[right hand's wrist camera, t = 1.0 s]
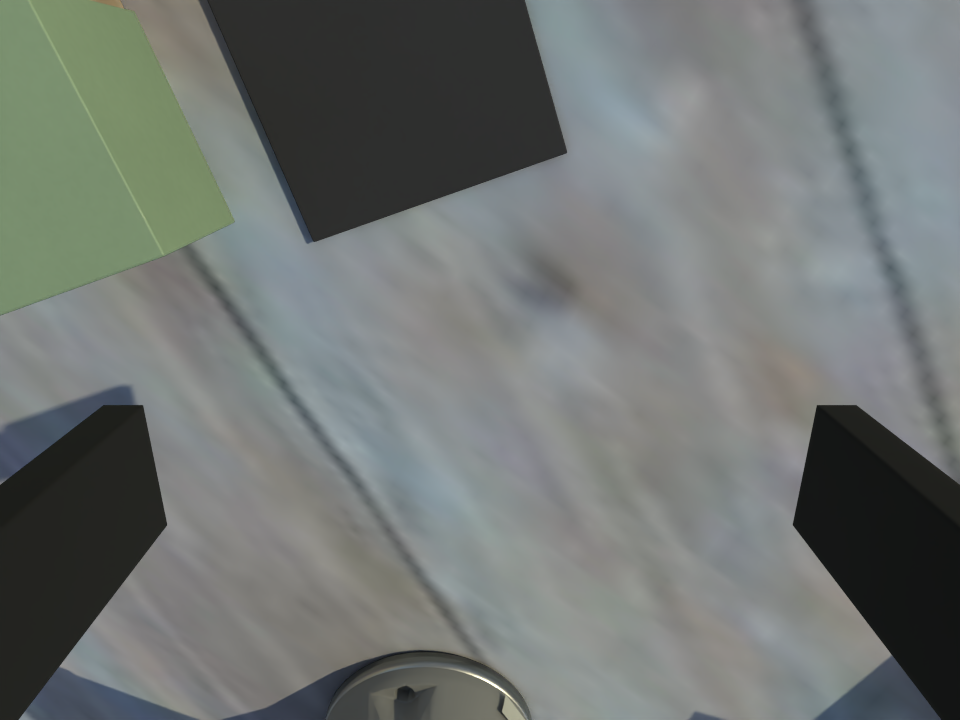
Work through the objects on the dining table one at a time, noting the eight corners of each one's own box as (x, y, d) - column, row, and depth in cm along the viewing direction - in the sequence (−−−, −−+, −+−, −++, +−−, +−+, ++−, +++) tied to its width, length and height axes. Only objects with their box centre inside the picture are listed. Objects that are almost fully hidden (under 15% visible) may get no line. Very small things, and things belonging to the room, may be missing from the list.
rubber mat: (566, 152, 33) (567, 152, 33) (315, 240, 35) (313, 242, 34) (476, -168, 28) (476, -172, 28) (190, -46, 30) (186, -48, 30)
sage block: (235, 221, 29) (164, 256, 23) (28, 296, 31) (-94, 349, 24) (134, 10, 26) (19, -19, 20) (-91, 105, 28) (-268, 106, 21)
